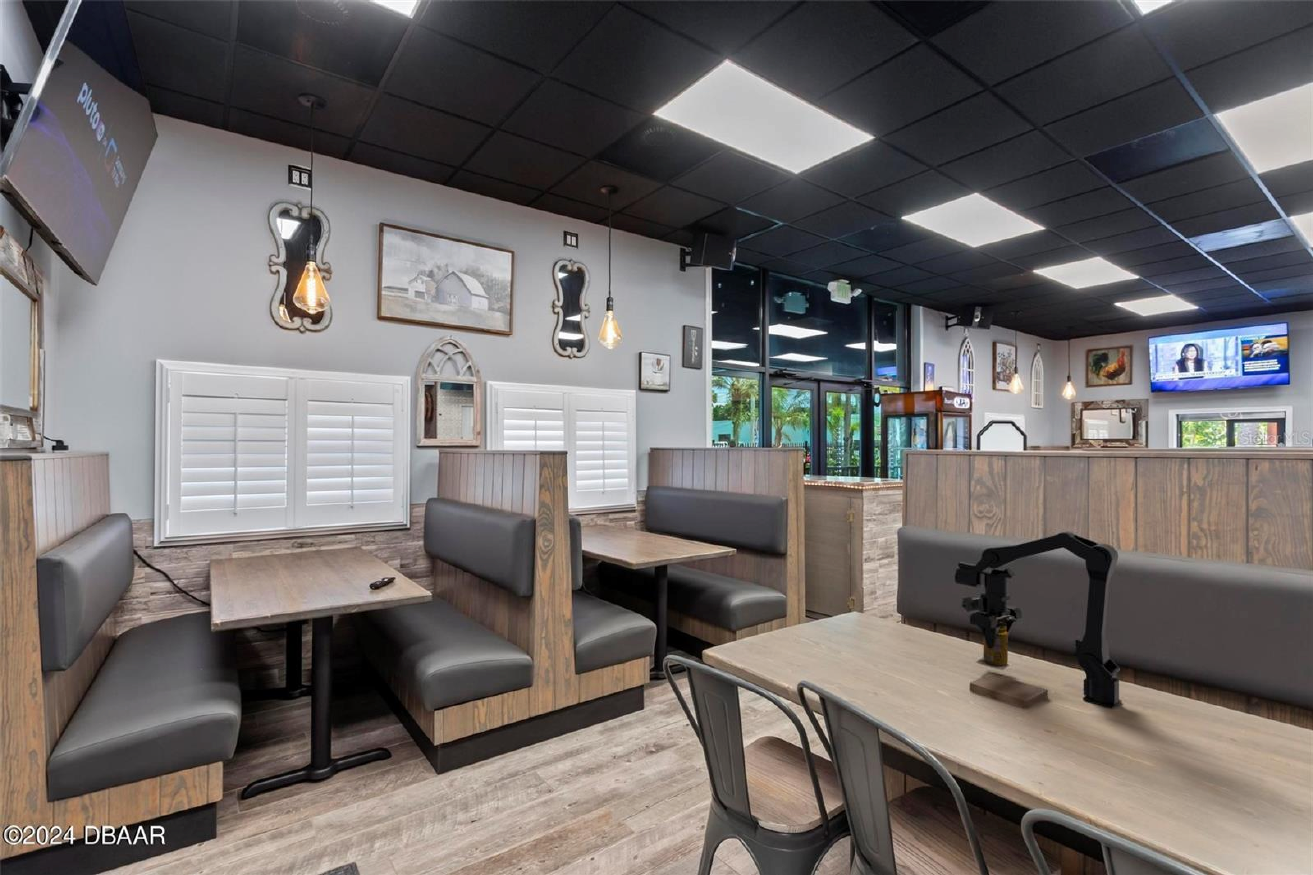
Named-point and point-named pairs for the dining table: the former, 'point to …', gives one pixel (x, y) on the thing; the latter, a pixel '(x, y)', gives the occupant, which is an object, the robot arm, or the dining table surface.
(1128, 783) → the dining table surface
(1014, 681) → the stand
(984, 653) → the condiment
